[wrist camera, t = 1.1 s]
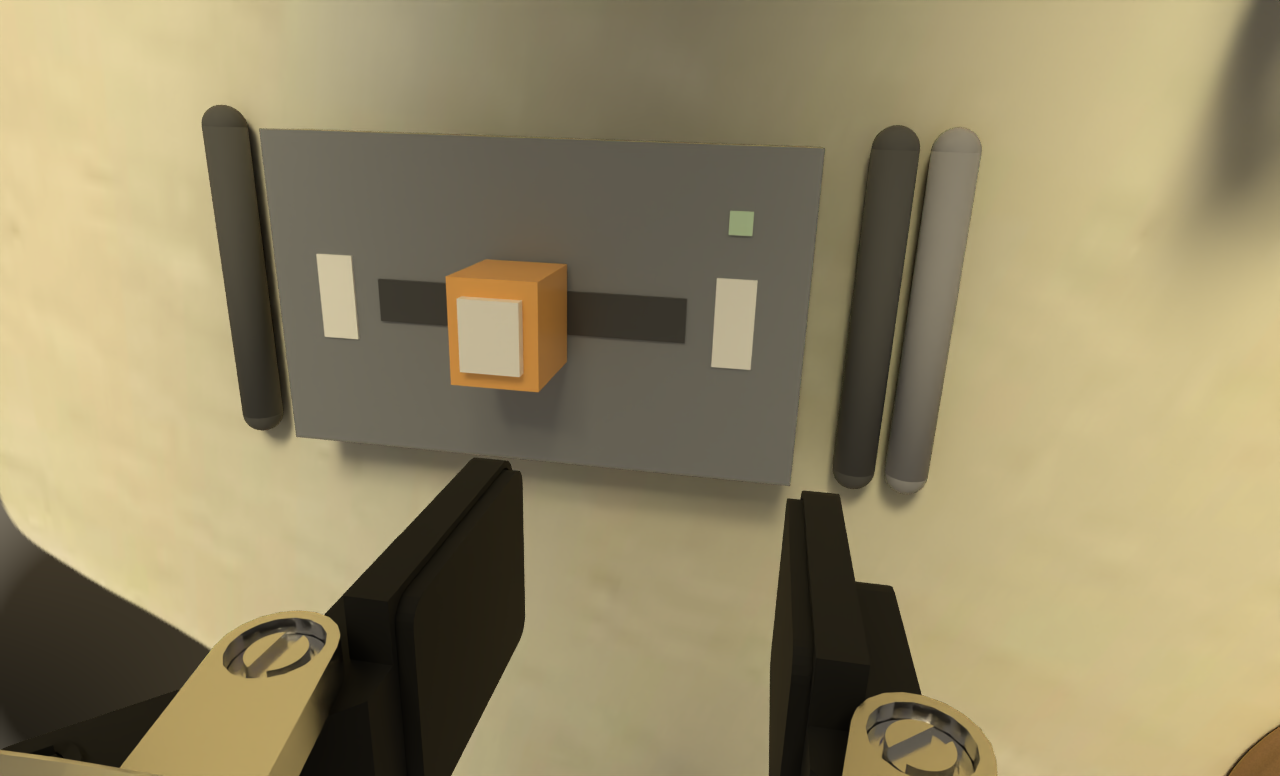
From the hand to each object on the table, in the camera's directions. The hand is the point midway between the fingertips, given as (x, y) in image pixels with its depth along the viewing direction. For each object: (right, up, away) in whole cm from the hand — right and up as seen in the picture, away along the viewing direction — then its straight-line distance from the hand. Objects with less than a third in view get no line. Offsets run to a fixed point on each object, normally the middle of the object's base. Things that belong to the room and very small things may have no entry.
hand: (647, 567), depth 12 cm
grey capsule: (+9, +5, +17) cm, 20 cm away
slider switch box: (-4, +7, +19) cm, 21 cm away
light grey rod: (+11, +5, +17) cm, 21 cm away
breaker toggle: (-4, +6, +16) cm, 18 cm away
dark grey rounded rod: (-17, +8, +21) cm, 28 cm away
